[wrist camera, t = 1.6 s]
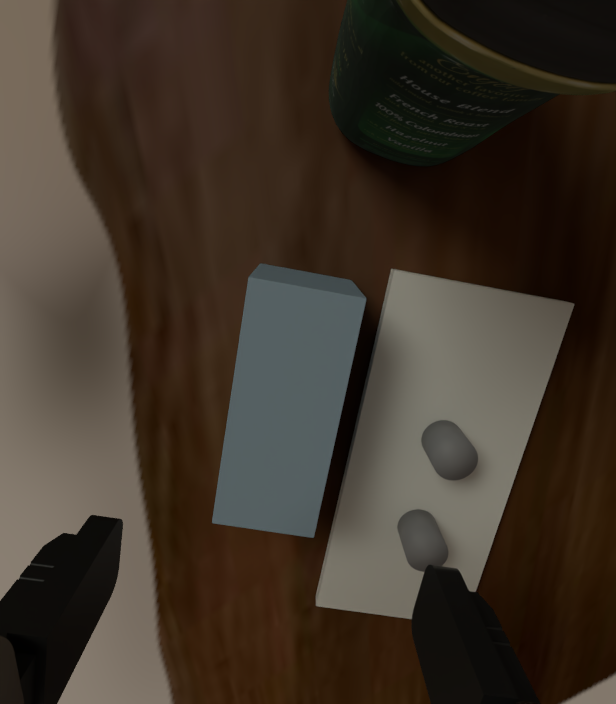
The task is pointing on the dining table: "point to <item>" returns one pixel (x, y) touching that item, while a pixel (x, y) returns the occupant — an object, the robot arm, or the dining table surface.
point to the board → (416, 389)
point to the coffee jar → (461, 69)
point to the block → (286, 398)
